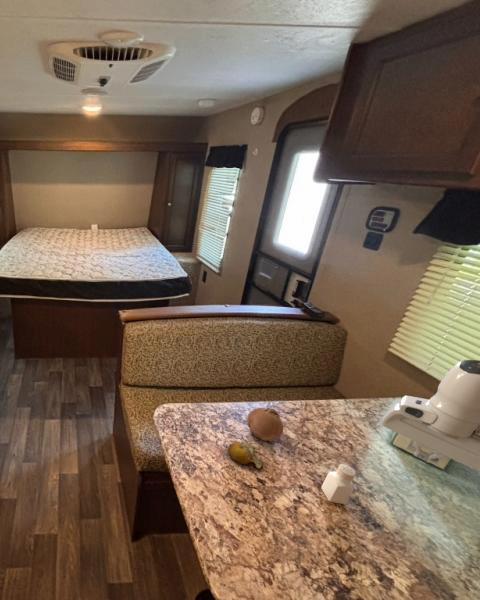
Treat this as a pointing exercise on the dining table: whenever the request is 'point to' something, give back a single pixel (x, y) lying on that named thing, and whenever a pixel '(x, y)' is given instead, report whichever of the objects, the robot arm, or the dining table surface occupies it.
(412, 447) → the drawer
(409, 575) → the dining table surface
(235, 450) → the fruit
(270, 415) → the onion
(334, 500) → the salt shaker
